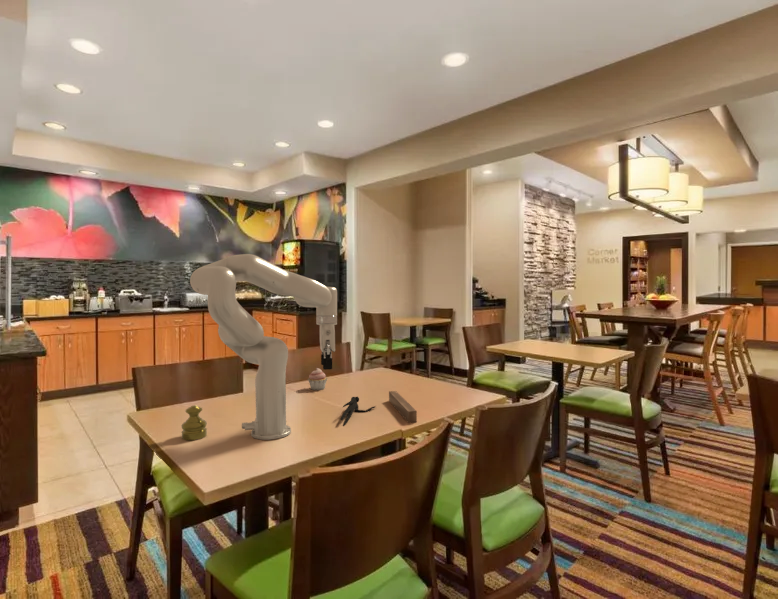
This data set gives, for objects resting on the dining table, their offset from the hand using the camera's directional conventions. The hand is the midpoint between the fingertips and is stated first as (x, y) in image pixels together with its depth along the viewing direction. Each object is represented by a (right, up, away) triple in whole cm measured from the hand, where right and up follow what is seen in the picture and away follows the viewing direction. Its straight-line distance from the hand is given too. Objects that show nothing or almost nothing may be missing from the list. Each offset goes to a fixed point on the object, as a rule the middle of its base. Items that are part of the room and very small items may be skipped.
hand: (326, 366), depth 163 cm
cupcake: (-10, -17, +44) cm, 48 cm away
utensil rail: (+28, -18, +8) cm, 34 cm away
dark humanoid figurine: (+12, -19, +1) cm, 22 cm away
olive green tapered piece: (-40, -20, -20) cm, 49 cm away
